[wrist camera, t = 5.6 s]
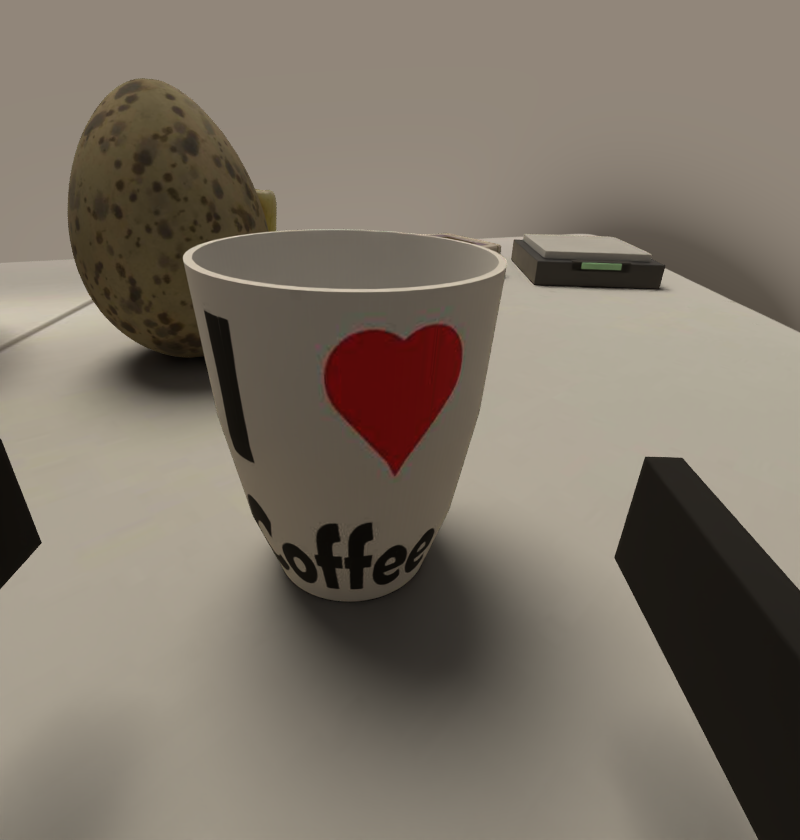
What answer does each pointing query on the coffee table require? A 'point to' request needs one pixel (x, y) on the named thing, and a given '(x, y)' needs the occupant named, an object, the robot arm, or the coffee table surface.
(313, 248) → the cup
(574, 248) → the scale
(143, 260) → the decorative egg
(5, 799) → the coffee table surface
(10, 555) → the robot arm
